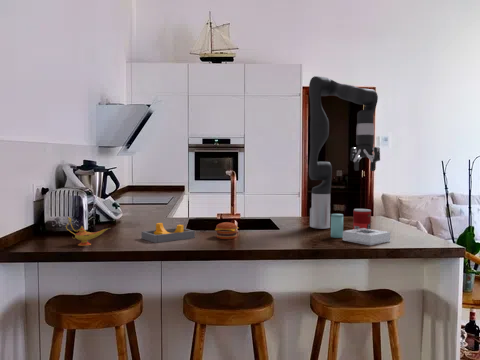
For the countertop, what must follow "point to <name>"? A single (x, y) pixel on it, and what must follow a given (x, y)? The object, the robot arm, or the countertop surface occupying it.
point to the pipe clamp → (161, 230)
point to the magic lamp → (85, 234)
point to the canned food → (362, 218)
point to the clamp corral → (168, 235)
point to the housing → (366, 236)
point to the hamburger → (226, 230)
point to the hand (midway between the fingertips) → (364, 170)
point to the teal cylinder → (337, 225)
